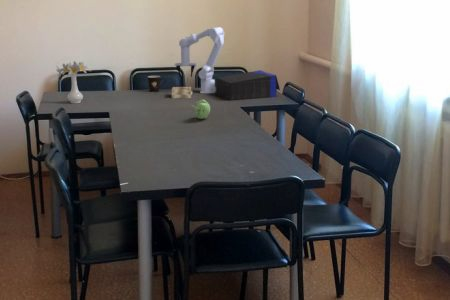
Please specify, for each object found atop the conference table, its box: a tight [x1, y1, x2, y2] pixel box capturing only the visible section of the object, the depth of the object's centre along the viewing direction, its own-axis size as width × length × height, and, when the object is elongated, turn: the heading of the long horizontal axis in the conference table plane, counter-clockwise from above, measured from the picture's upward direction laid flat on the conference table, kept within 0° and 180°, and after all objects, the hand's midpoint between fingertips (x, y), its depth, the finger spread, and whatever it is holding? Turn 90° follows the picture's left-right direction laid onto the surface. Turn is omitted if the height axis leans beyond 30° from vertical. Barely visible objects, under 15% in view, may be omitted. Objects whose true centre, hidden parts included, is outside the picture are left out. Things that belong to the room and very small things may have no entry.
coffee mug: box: [147, 75, 167, 93], centre depth 390 cm, size 12×9×10 cm
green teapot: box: [190, 99, 211, 120], centre depth 308 cm, size 12×11×11 cm
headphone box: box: [215, 69, 281, 102], centre depth 374 cm, size 25×35×14 cm
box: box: [171, 86, 192, 99], centre depth 373 cm, size 12×12×5 cm
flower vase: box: [55, 61, 88, 104], centre depth 352 cm, size 13×18×25 cm
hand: (185, 76), depth 391 cm, fingers open, 7 cm apart
